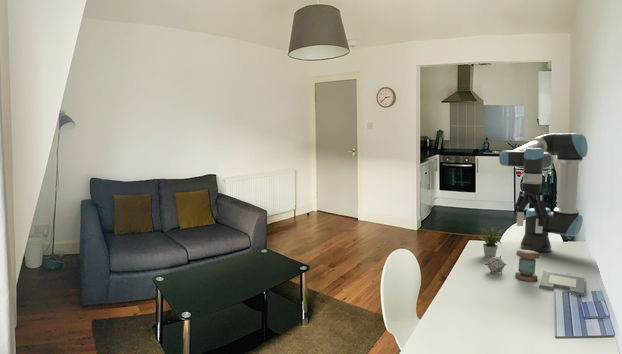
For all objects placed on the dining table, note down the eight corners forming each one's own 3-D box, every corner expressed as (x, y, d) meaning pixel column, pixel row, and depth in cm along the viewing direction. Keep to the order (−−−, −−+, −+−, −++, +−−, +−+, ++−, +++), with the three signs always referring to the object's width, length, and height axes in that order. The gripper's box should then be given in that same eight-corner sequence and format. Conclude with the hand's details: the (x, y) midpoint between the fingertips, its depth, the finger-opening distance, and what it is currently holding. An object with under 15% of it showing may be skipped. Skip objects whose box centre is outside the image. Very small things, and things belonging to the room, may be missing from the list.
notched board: (543, 274, 192) (543, 270, 192) (584, 281, 183) (584, 277, 183) (539, 288, 175) (539, 284, 175) (584, 296, 166) (584, 292, 166)
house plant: (471, 258, 215) (472, 227, 213) (474, 251, 228) (475, 222, 226) (501, 262, 209) (502, 230, 207) (502, 254, 221) (504, 225, 219)
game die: (497, 281, 192) (503, 269, 186) (480, 272, 197) (485, 260, 190) (506, 269, 197) (511, 256, 190) (488, 259, 201) (493, 247, 194)
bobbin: (516, 273, 193) (518, 248, 192) (538, 277, 188) (540, 251, 187) (513, 279, 186) (515, 253, 184) (536, 283, 181) (538, 256, 179)
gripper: (508, 179, 196) (505, 223, 198) (542, 186, 171) (539, 236, 173) (522, 179, 196) (520, 223, 199) (559, 186, 172) (555, 236, 174)
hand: (528, 229), depth 186 cm, fingers open, 13 cm apart
